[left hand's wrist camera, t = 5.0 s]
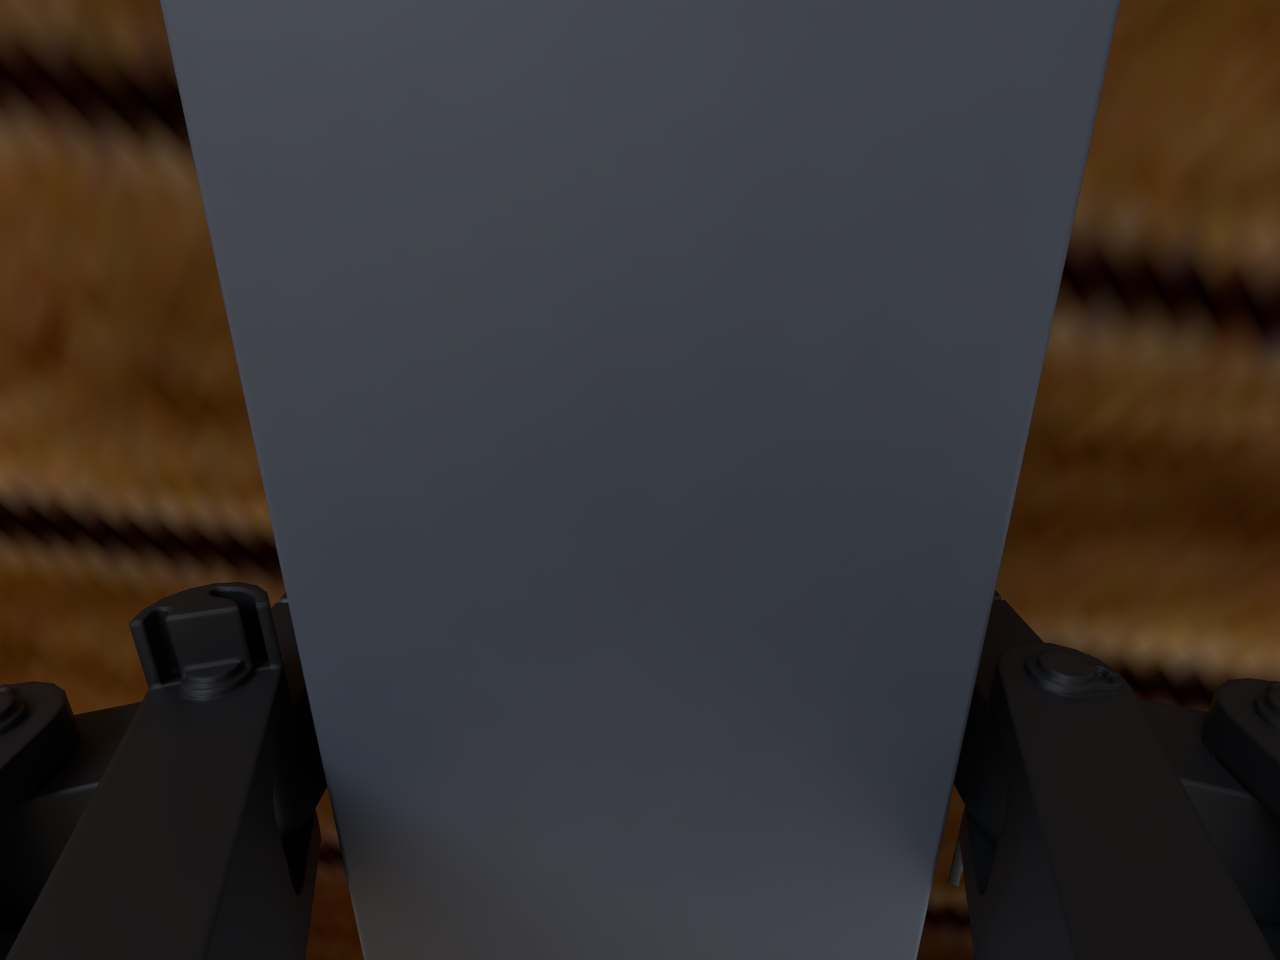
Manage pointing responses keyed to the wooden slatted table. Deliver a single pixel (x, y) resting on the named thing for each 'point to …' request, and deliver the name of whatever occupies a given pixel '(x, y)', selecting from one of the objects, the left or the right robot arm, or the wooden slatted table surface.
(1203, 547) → the wooden slatted table surface
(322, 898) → the wooden slatted table surface
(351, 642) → the bar
